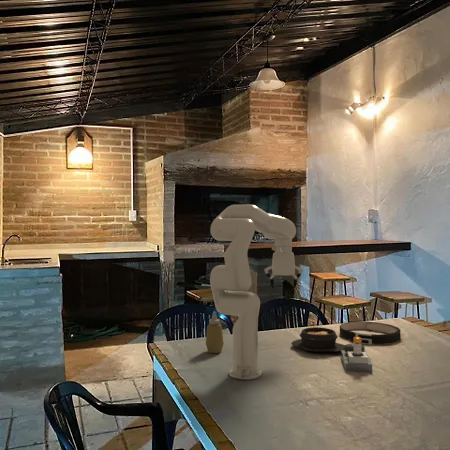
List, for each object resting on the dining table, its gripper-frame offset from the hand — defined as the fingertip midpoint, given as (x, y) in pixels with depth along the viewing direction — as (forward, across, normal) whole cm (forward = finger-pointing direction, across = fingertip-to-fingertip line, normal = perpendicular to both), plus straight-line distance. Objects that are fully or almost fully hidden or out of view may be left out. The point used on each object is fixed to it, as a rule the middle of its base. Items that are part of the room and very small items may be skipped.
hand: (283, 287), depth 207 cm
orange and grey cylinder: (+25, +29, -23) cm, 45 cm away
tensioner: (+28, +29, -18) cm, 44 cm away
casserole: (+28, +16, +2) cm, 32 cm away
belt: (+28, +43, +27) cm, 58 cm away
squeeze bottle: (+28, -31, -6) cm, 42 cm away
